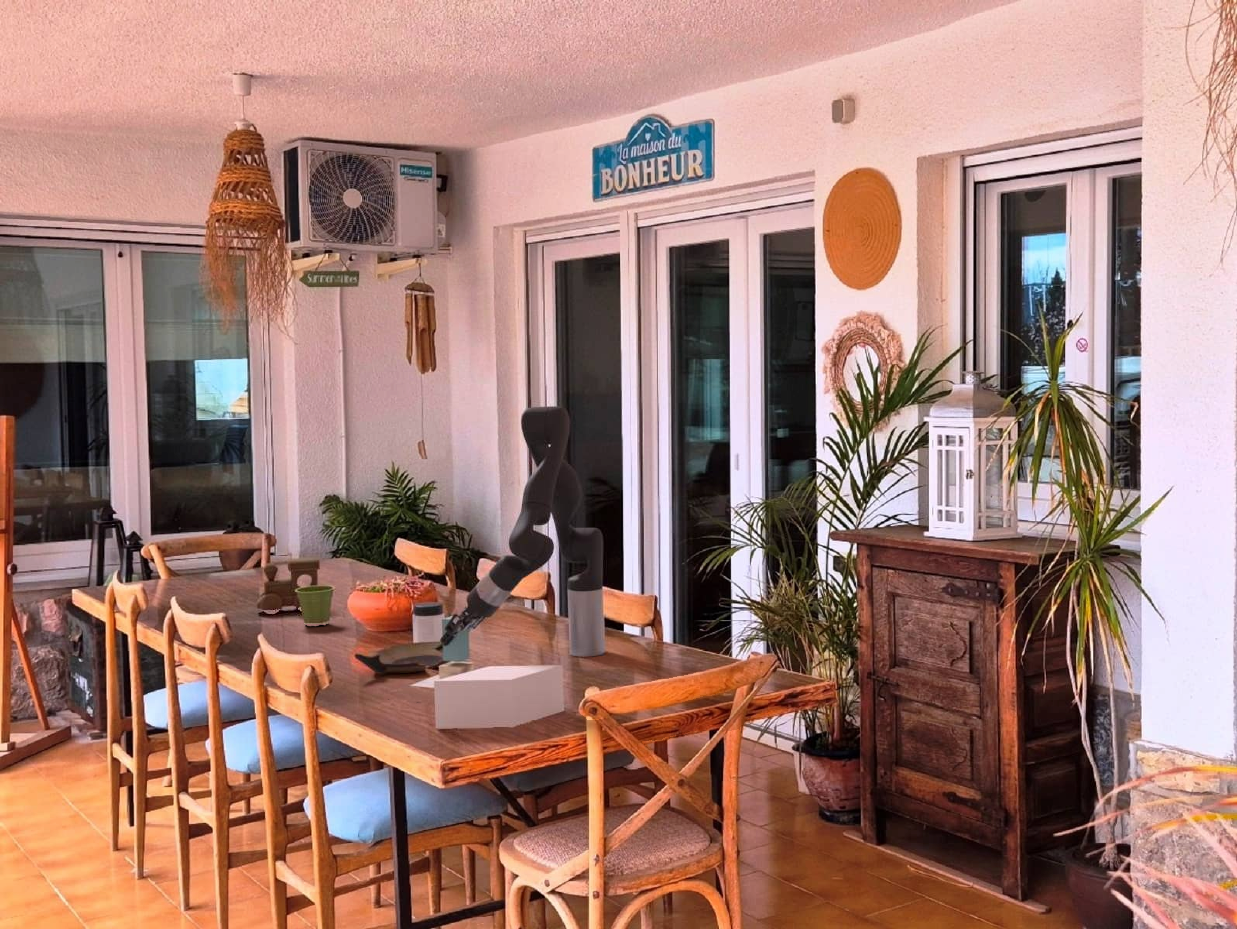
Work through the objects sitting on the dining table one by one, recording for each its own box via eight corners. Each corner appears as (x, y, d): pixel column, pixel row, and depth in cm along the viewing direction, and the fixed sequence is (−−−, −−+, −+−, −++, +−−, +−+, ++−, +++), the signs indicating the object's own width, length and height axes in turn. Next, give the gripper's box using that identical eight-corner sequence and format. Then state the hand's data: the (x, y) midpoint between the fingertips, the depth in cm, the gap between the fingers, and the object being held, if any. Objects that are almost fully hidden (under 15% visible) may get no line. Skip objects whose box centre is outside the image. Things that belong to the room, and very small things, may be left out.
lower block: (453, 677, 318) (452, 660, 318) (474, 678, 316) (473, 662, 316) (439, 682, 313) (438, 665, 313) (460, 684, 310) (460, 667, 310)
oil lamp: (477, 671, 329) (476, 641, 328) (362, 688, 314) (361, 656, 313) (442, 656, 348) (441, 628, 348) (332, 672, 333) (331, 642, 333)
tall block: (454, 656, 317) (452, 615, 317) (469, 658, 315) (468, 616, 314) (443, 660, 313) (441, 619, 312) (459, 662, 311) (457, 620, 310)
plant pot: (295, 623, 403) (294, 587, 402) (335, 620, 406) (333, 584, 405) (297, 630, 392) (295, 592, 391) (337, 627, 395) (336, 590, 394)
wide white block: (576, 718, 281) (575, 671, 280) (446, 737, 268) (444, 688, 268) (551, 704, 294) (550, 658, 293) (425, 721, 282) (424, 674, 281)
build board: (448, 675, 325) (447, 671, 325) (503, 680, 318) (503, 676, 318) (410, 689, 311) (409, 685, 311) (467, 695, 304) (467, 690, 304)
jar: (410, 650, 356) (408, 607, 356) (417, 644, 364) (415, 601, 364) (442, 650, 356) (440, 606, 355) (449, 644, 364) (447, 601, 363)
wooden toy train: (319, 606, 433) (317, 556, 432) (322, 611, 423) (320, 560, 422) (257, 611, 428) (254, 560, 427) (258, 616, 417) (255, 564, 416)
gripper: (496, 577, 316) (455, 624, 322) (463, 586, 303) (422, 635, 309) (515, 600, 314) (474, 647, 320) (483, 610, 301) (441, 659, 307)
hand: (449, 640), depth 315 cm, fingers closed on tall block, 4 cm apart
